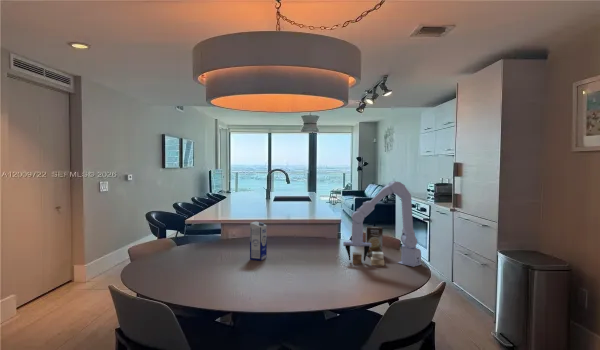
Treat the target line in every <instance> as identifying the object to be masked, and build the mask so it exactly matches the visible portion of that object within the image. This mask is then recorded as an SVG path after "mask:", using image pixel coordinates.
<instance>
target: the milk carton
mask: <svg viewBox="0 0 600 350" xmlns="http://www.w3.org/2000/svg"><path fill="white" fill-rule="evenodd" d="M267 228H268V225H267V224H265V223H264V222H262V221H252V222H250V223H249V261H258V262H259V261H260V262H262V261H264V260H265V259H267V258H268V257H267V255H268V254H267V252H268V251H267V246H268V245H267V244H268V242H267V240H268V238H267V237H268V235H267V233H268V232H267V230H268V229H267Z"/></svg>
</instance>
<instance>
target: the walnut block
mask: <svg viewBox="0 0 600 350" xmlns="http://www.w3.org/2000/svg"><path fill="white" fill-rule="evenodd" d="M362 257H363V256H362V252H352V264H353V265H362V264H363V263H362V261H363V260H362Z"/></svg>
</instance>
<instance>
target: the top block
mask: <svg viewBox="0 0 600 350" xmlns="http://www.w3.org/2000/svg"><path fill="white" fill-rule="evenodd" d="M371 257H372V260H383V258H384V252H383V251H382V252H372V256H371Z"/></svg>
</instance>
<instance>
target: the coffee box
mask: <svg viewBox="0 0 600 350" xmlns="http://www.w3.org/2000/svg"><path fill="white" fill-rule="evenodd" d="M365 226H366V225H365ZM383 232H384V230H383V227H382V226H372V225H371V226H370V225H369V226H368V225H367V226H366V227H365V242H366V243H371V247H369V250H368V252H367V255H366V257H368V256H369V257H372V252H383V235H384V234H383Z"/></svg>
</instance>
